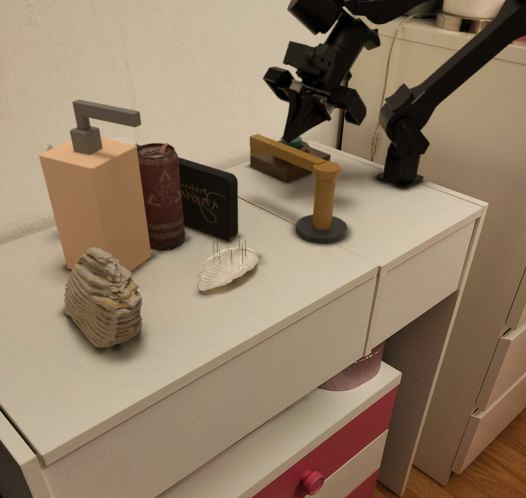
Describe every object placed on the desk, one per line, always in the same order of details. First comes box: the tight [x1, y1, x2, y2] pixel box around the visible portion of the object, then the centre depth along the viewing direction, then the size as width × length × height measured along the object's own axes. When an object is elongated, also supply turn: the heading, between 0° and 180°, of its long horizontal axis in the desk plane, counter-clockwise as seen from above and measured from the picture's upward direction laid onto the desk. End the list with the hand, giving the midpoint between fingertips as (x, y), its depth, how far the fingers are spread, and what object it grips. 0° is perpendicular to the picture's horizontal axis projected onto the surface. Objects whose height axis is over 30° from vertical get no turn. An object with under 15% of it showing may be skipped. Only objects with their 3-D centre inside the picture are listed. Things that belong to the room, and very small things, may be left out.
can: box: [137, 142, 186, 250], centre depth 80 cm, size 6×6×14 cm
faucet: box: [295, 178, 348, 245], centre depth 84 cm, size 8×8×9 cm
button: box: [280, 135, 303, 149], centre depth 104 cm, size 4×4×2 cm
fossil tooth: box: [63, 247, 143, 349], centre depth 64 cm, size 12×6×15 cm
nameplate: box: [137, 144, 239, 242], centre depth 86 cm, size 21×2×10 cm, turn 56°
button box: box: [249, 139, 331, 183], centre depth 106 cm, size 12×10×4 cm
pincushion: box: [198, 234, 260, 292], centre depth 75 cm, size 12×6×6 cm, turn 144°
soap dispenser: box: [38, 99, 152, 273], centre depth 71 cm, size 13×9×22 cm
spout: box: [249, 133, 342, 180], centre depth 85 cm, size 18×4×3 cm, turn 43°
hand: (285, 141), depth 89 cm, fingers closed
